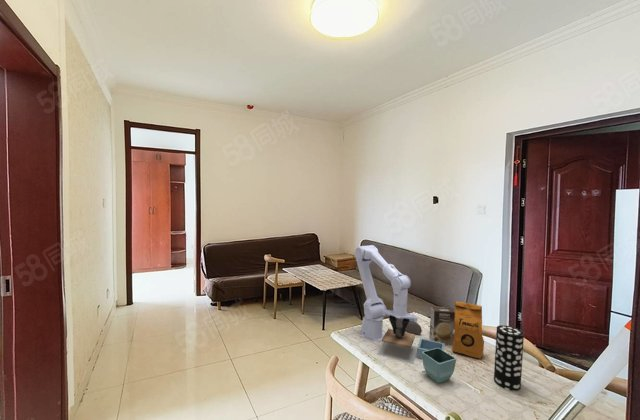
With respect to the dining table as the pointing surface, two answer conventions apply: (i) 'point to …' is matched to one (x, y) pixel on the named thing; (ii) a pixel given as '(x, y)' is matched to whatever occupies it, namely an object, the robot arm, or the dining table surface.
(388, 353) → the mat
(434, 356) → the flower pot
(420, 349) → the dish
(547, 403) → the dining table surface
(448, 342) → the coffee box
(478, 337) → the coffee package
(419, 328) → the perforated stone tool
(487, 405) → the dining table surface
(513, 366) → the white-spotted black cylinder
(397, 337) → the lid
